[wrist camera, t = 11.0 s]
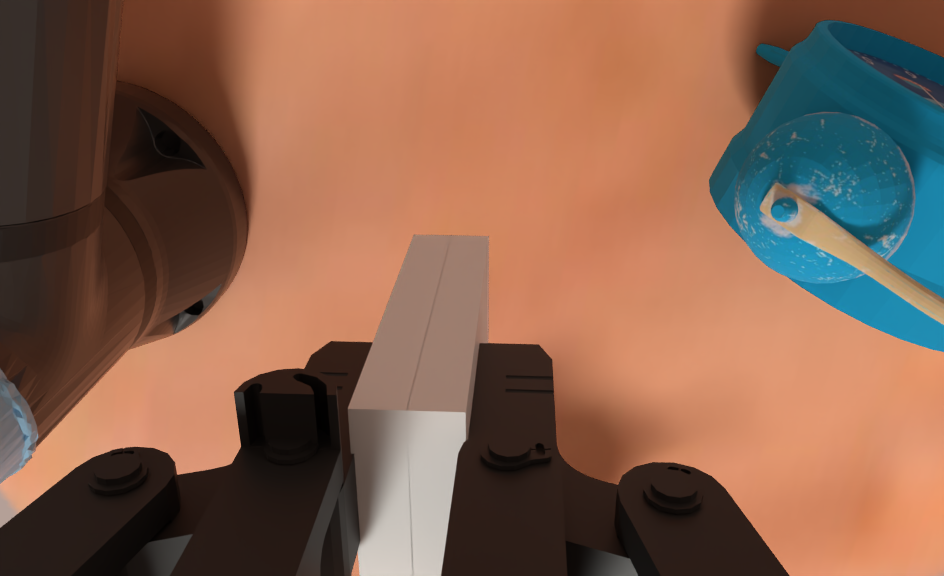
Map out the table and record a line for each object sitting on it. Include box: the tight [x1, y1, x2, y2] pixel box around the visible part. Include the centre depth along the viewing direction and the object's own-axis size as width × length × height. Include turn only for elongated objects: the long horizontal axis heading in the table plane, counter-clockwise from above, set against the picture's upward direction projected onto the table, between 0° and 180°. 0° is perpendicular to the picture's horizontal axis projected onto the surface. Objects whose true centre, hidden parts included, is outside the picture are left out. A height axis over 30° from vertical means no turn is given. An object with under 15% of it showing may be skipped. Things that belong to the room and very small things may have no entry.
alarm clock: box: [709, 20, 944, 352], centre depth 35 cm, size 17×10×20 cm, turn 70°
